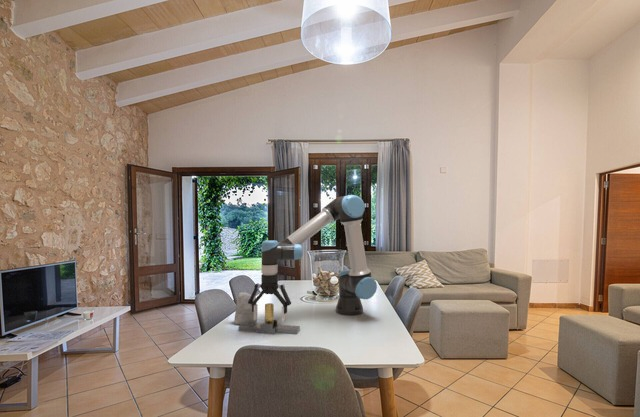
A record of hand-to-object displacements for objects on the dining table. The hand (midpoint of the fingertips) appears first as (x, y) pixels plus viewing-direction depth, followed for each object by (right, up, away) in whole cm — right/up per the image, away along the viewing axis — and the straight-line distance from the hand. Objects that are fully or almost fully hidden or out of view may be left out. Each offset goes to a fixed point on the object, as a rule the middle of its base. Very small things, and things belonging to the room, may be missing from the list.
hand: (269, 319), depth 149 cm
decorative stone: (-13, -6, +10) cm, 18 cm away
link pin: (0, -5, 0) cm, 5 cm away
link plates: (0, -5, 0) cm, 5 cm away
